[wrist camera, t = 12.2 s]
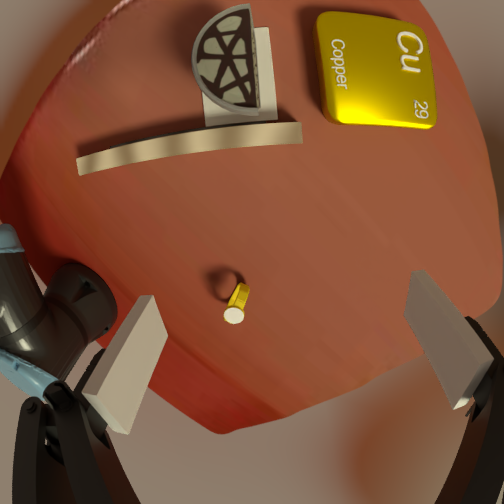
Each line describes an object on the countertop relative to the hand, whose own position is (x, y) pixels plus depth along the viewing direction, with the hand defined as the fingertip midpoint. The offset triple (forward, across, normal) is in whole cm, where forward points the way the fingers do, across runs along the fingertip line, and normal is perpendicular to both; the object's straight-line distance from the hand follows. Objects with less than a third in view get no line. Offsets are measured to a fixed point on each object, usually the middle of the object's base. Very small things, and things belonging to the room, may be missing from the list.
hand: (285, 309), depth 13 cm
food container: (+25, +3, -16) cm, 30 cm away
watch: (+25, +7, +15) cm, 30 cm away
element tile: (+25, -15, -16) cm, 33 cm away
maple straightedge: (+25, +11, -8) cm, 29 cm away
